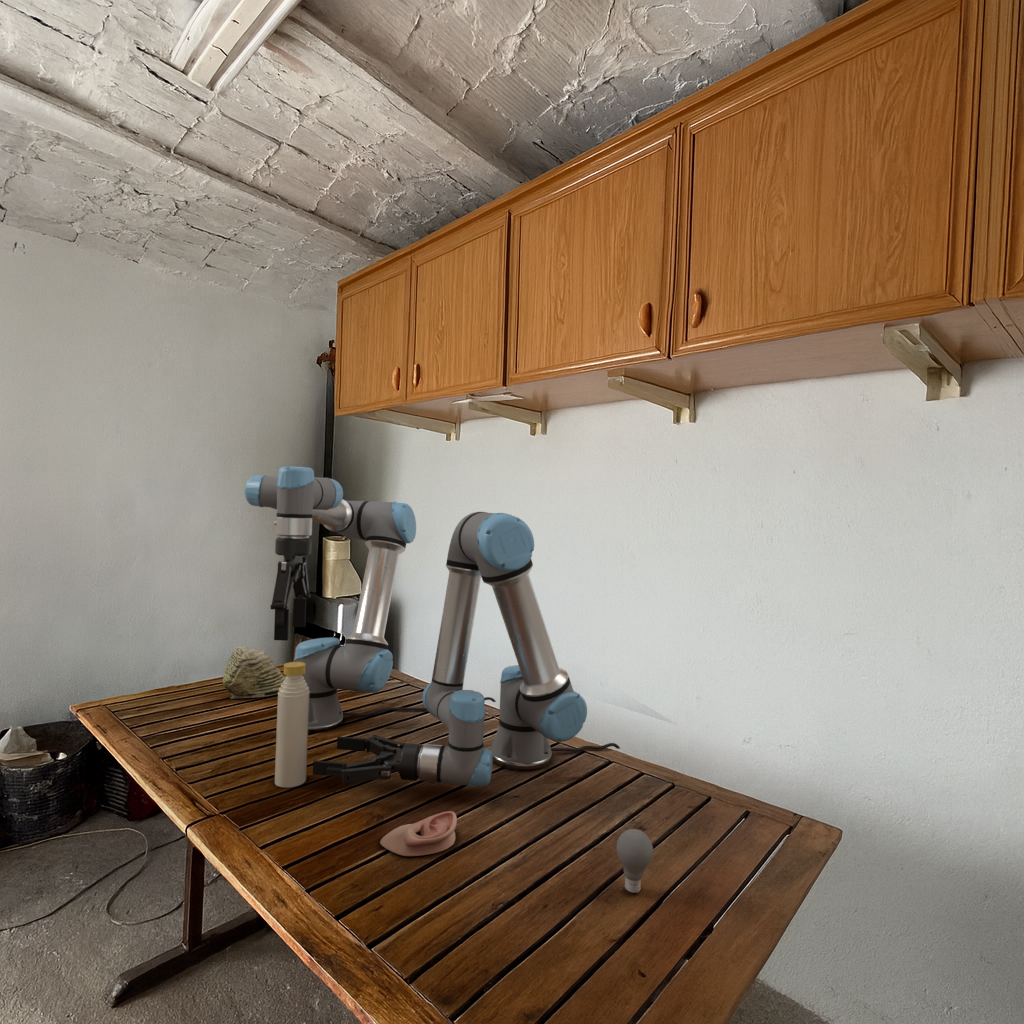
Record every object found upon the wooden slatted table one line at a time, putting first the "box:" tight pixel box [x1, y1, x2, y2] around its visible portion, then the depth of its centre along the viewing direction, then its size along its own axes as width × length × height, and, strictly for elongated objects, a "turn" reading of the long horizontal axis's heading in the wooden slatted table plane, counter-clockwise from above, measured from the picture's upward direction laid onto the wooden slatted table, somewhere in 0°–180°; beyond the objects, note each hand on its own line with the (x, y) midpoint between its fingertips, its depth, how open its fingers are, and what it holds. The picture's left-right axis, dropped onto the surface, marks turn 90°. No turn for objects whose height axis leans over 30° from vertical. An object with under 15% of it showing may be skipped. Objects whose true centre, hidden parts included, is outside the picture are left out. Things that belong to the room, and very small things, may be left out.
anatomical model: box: [379, 810, 458, 857], centre depth 118 cm, size 13×4×12 cm
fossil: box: [222, 646, 286, 699], centre depth 198 cm, size 9×18×15 cm, turn 132°
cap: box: [283, 661, 306, 676], centre depth 140 cm, size 5×5×2 cm
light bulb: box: [615, 828, 654, 894], centre depth 106 cm, size 6×6×10 cm
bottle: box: [274, 675, 310, 789], centre depth 140 cm, size 7×7×26 cm
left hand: (290, 633), depth 140 cm, fingers open, 13 cm apart
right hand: (325, 754), depth 139 cm, fingers open, 13 cm apart
